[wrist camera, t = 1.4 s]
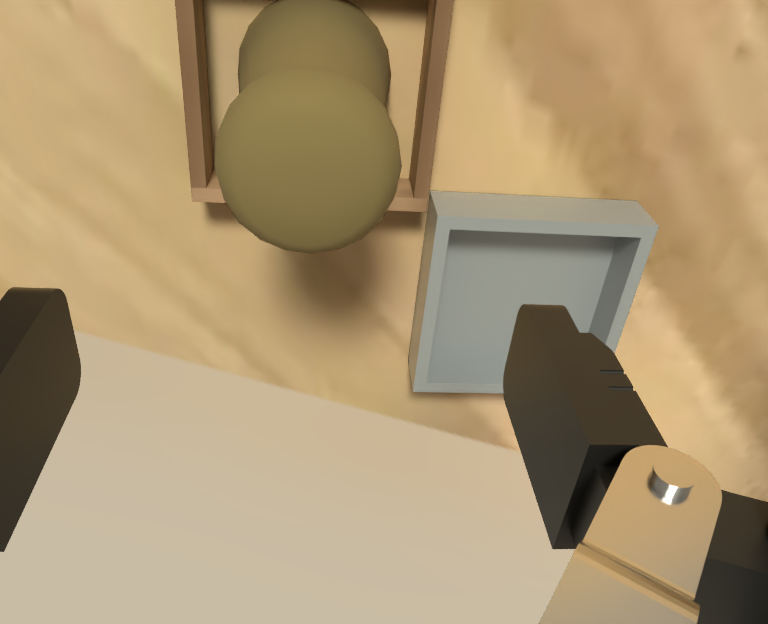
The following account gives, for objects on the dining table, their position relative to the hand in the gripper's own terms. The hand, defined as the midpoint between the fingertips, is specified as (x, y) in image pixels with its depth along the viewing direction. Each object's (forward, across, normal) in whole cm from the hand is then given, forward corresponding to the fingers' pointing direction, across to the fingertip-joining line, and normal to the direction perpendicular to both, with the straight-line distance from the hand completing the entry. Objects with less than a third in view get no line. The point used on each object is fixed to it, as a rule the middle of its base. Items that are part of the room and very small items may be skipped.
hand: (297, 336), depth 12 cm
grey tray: (+18, -10, +10) cm, 22 cm away
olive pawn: (+18, 0, 0) cm, 18 cm away
